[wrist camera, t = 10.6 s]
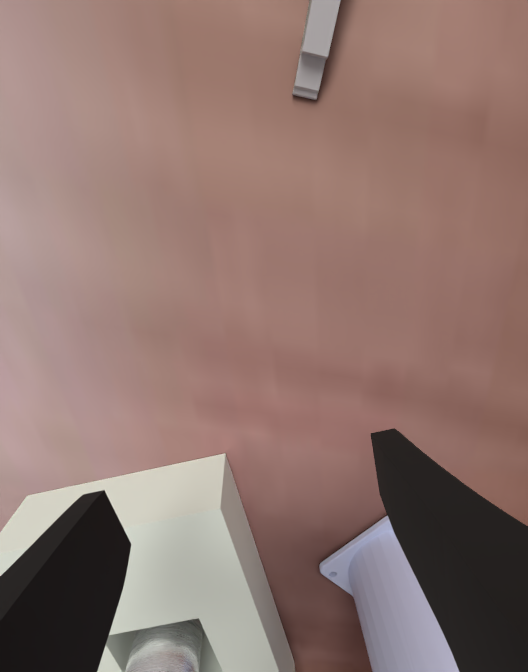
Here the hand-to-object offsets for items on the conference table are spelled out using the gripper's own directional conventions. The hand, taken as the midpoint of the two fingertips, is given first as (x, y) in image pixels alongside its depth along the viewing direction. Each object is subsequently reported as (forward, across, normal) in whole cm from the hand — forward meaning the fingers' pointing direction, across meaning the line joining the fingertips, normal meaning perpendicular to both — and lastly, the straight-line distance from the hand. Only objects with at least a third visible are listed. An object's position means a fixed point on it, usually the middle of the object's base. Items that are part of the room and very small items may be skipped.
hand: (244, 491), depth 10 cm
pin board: (+10, +9, +16) cm, 21 cm away
